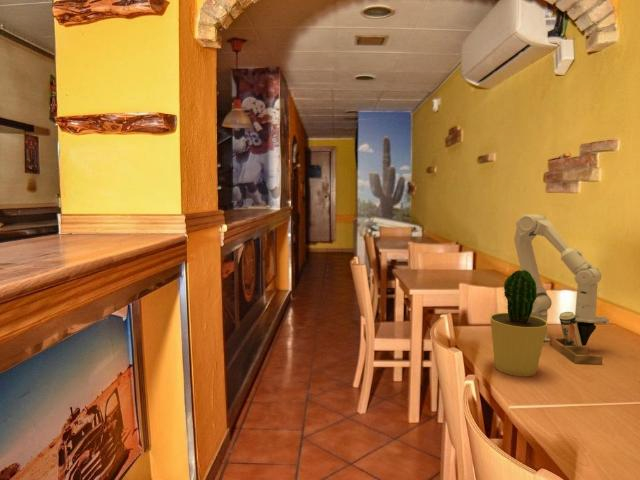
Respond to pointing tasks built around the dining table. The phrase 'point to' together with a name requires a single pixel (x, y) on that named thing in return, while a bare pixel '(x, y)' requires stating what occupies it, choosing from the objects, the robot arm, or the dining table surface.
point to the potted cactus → (518, 328)
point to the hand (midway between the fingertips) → (582, 344)
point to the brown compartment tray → (575, 352)
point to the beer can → (570, 329)
